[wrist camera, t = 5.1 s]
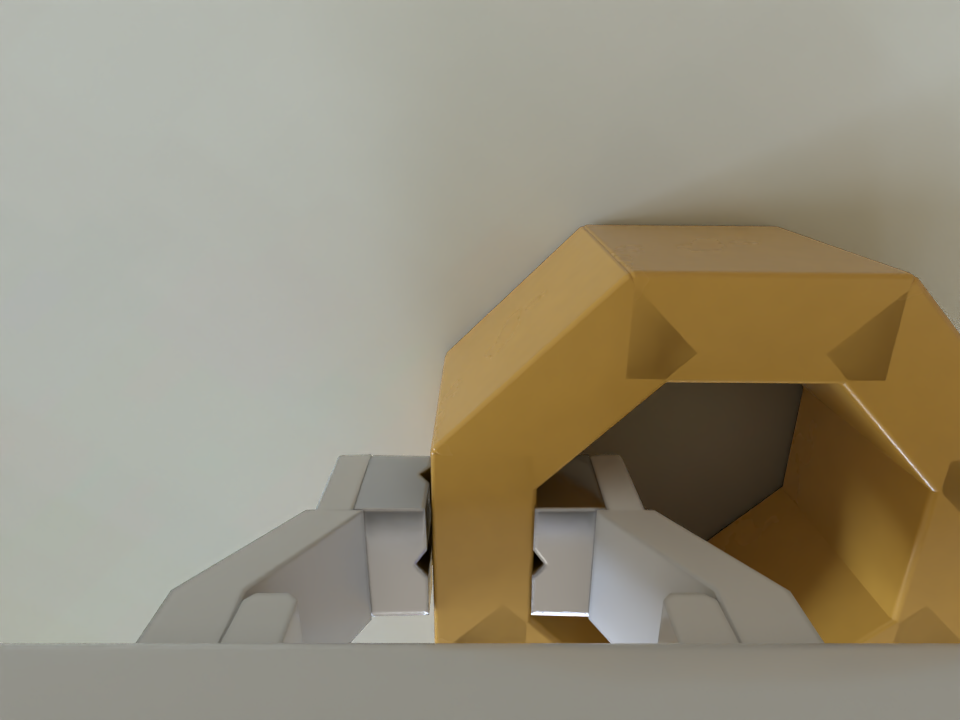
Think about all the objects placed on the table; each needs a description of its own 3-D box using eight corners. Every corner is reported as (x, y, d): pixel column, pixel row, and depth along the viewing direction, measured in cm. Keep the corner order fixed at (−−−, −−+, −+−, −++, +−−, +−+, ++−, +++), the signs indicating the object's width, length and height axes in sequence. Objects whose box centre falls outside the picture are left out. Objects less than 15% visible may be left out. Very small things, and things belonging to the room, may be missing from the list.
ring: (448, 601, 13) (437, 762, 10) (443, 222, 10) (424, 270, 7) (820, 603, 13) (935, 765, 10) (917, 226, 11) (1123, 275, 7)
